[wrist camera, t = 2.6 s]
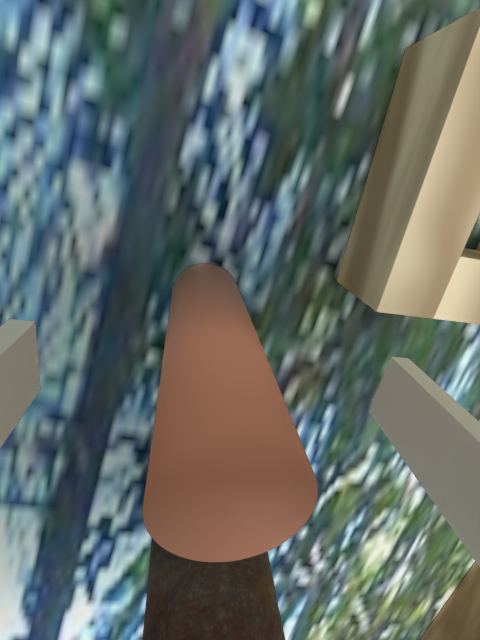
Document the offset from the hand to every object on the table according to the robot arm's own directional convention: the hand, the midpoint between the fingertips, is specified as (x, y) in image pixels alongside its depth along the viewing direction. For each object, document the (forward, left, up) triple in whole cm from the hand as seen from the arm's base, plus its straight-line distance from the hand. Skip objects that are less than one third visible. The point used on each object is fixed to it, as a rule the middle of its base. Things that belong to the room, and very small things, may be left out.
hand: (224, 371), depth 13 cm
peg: (0, 0, -9) cm, 9 cm away
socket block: (+14, +8, -9) cm, 18 cm away
